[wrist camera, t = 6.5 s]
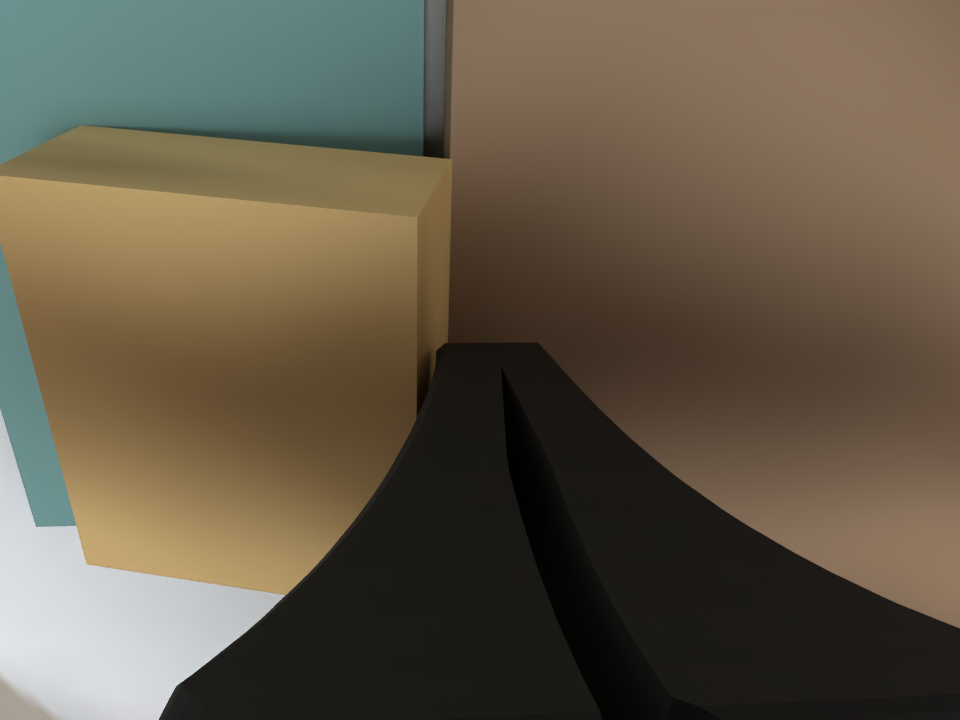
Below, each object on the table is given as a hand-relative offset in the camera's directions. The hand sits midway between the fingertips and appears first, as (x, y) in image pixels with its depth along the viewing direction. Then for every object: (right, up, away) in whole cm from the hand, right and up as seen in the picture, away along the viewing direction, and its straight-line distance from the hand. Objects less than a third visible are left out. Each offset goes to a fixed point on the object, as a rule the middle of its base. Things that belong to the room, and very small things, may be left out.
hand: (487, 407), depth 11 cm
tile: (-3, +1, +1) cm, 3 cm away
